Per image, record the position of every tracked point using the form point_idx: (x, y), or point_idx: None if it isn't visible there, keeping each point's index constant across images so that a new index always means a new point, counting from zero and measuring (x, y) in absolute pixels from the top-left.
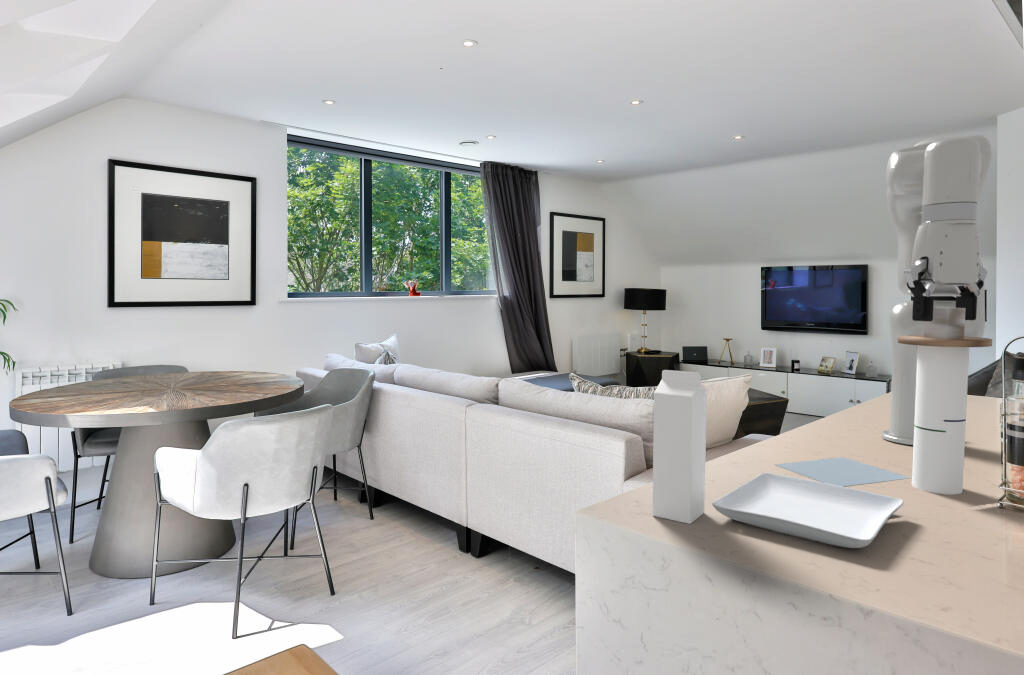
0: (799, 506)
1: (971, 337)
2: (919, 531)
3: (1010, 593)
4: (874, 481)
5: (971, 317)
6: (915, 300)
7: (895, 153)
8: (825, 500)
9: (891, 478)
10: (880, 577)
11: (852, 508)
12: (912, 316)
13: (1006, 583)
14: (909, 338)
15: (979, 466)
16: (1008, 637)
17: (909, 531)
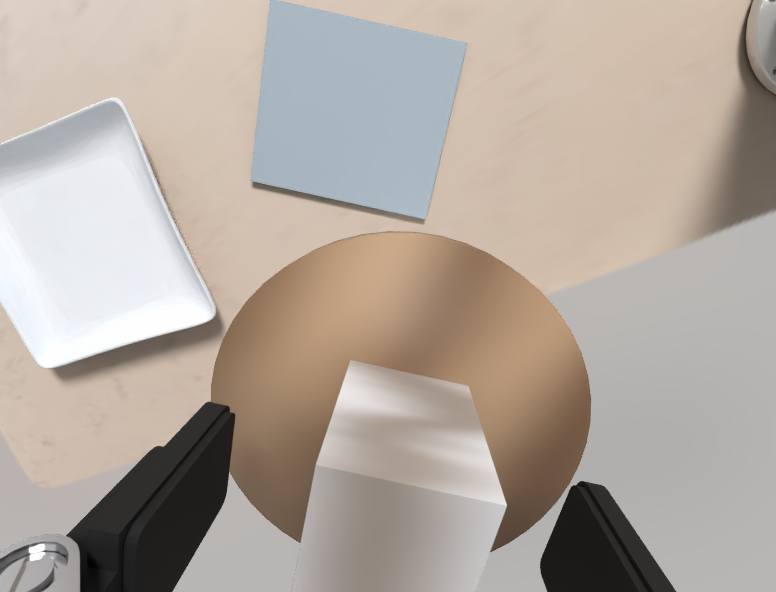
0: (110, 213)
1: (532, 477)
2: (200, 345)
3: (130, 459)
4: (343, 196)
5: (543, 574)
6: (75, 534)
7: None
8: (159, 224)
9: (389, 202)
10: (44, 385)
11: (172, 264)
12: (198, 411)
13: (148, 450)
14: (221, 358)
15: (643, 237)
16: (52, 484)
17: (188, 339)
